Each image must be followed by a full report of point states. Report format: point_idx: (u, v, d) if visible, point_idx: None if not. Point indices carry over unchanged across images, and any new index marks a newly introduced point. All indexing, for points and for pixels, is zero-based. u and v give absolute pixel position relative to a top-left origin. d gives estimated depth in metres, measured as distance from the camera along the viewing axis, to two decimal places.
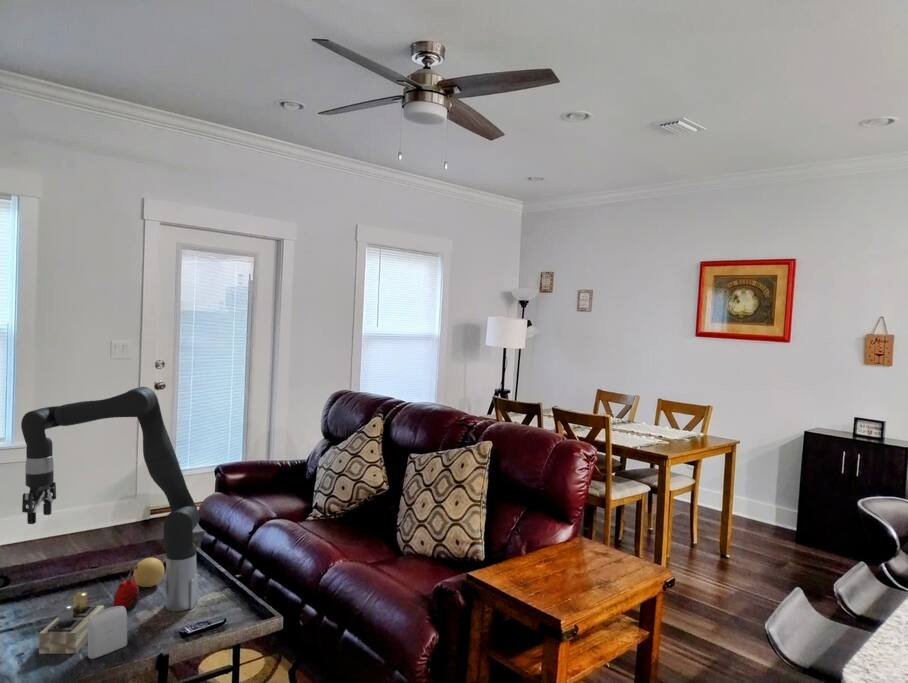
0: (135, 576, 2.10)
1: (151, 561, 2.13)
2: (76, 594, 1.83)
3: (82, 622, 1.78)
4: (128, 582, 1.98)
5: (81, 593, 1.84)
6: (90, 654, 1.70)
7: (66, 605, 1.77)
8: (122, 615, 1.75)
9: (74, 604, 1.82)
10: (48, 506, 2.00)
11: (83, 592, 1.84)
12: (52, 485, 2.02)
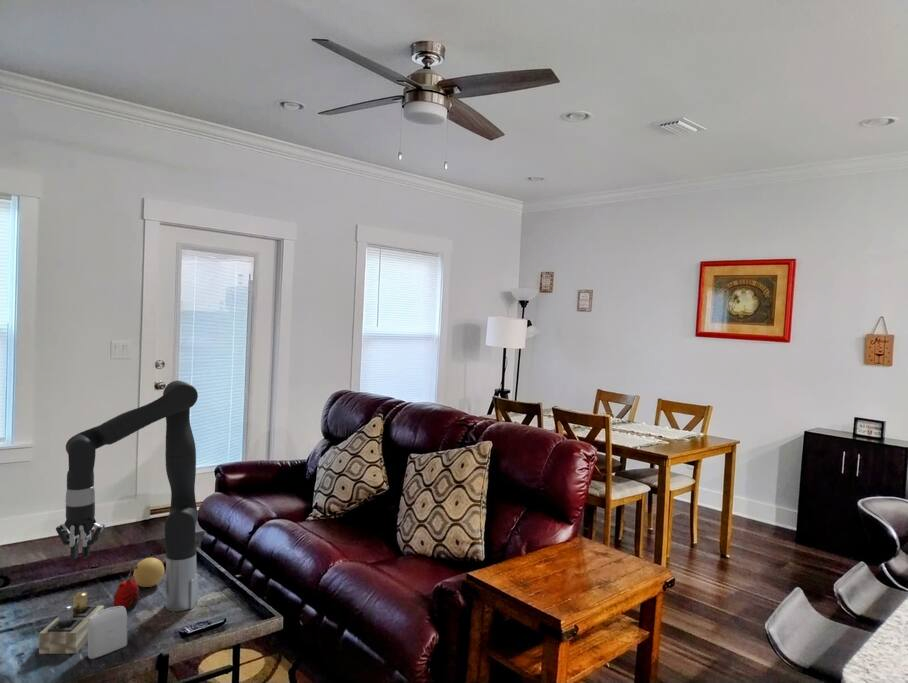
0: (135, 576, 2.10)
1: (151, 561, 2.13)
2: (76, 594, 1.83)
3: (82, 622, 1.78)
4: (128, 582, 1.98)
5: (81, 593, 1.84)
6: (90, 654, 1.70)
7: (66, 605, 1.77)
8: (122, 615, 1.75)
9: (74, 604, 1.82)
10: (77, 547, 1.83)
11: (83, 592, 1.84)
12: None
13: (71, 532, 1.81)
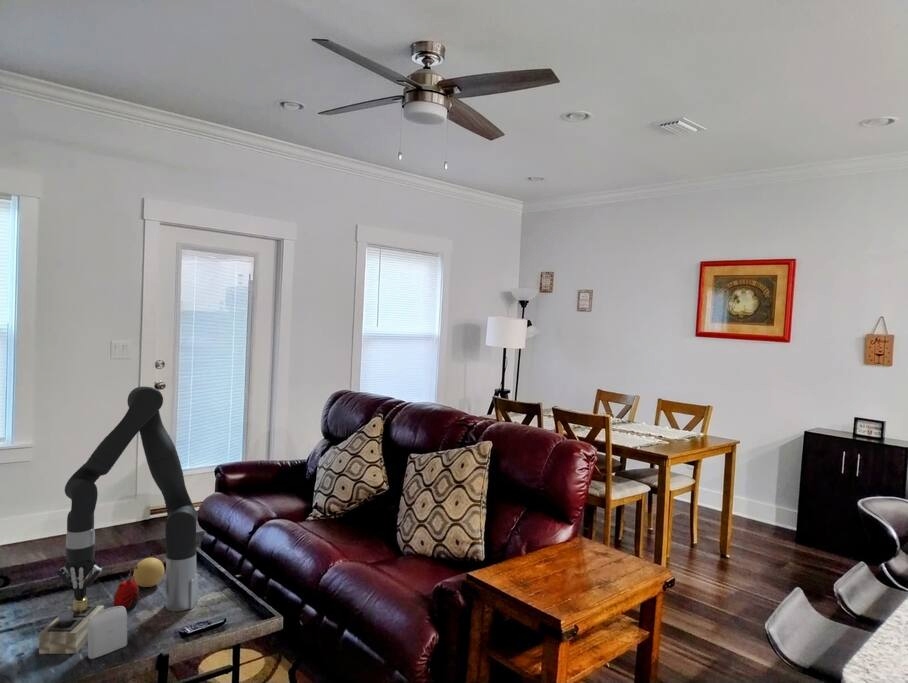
0: (135, 576, 2.10)
1: (151, 561, 2.13)
2: None
3: (82, 622, 1.78)
4: (128, 582, 1.98)
5: None
6: (90, 654, 1.70)
7: (66, 605, 1.77)
8: (122, 615, 1.75)
9: (74, 609, 1.82)
10: None
11: None
12: None
13: (72, 574, 1.81)
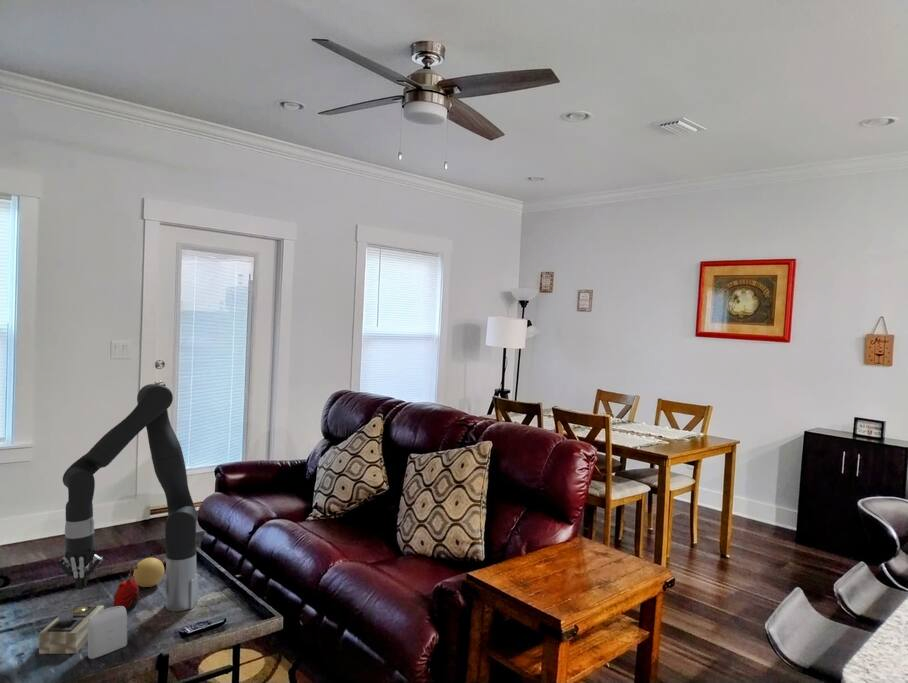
0: (135, 576, 2.10)
1: (151, 561, 2.13)
2: (76, 609, 1.83)
3: (82, 622, 1.78)
4: (128, 582, 1.98)
5: (81, 608, 1.84)
6: (90, 654, 1.70)
7: (66, 605, 1.77)
8: (122, 615, 1.75)
9: None
10: None
11: (83, 607, 1.85)
12: None
13: (73, 563, 1.81)
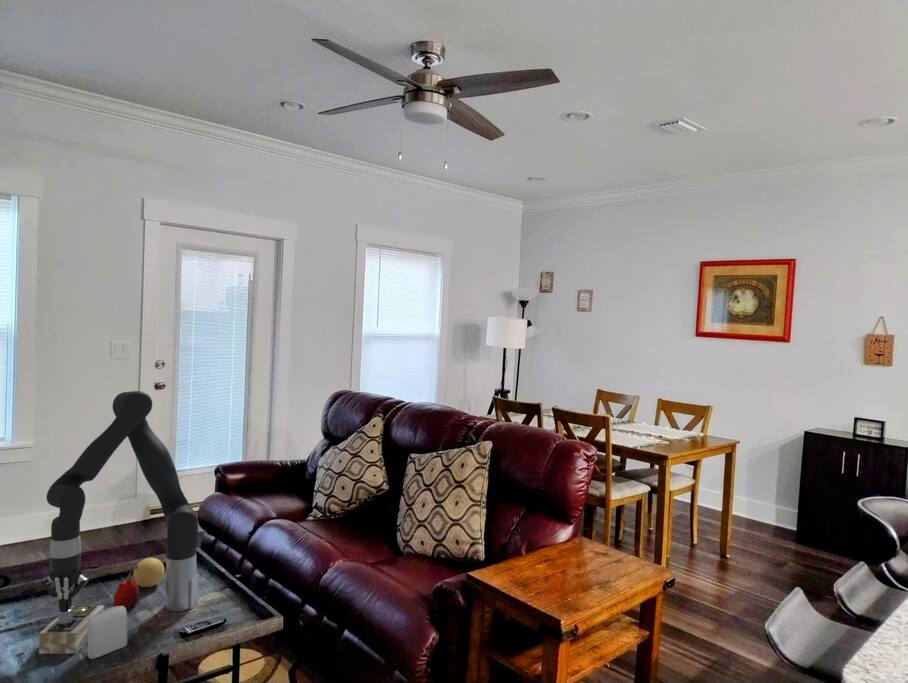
0: (135, 576, 2.10)
1: (151, 561, 2.13)
2: (76, 609, 1.83)
3: (82, 622, 1.78)
4: (128, 582, 1.98)
5: (81, 608, 1.84)
6: (90, 654, 1.70)
7: None
8: (122, 615, 1.75)
9: None
10: None
11: (83, 607, 1.85)
12: None
13: (57, 584, 1.73)
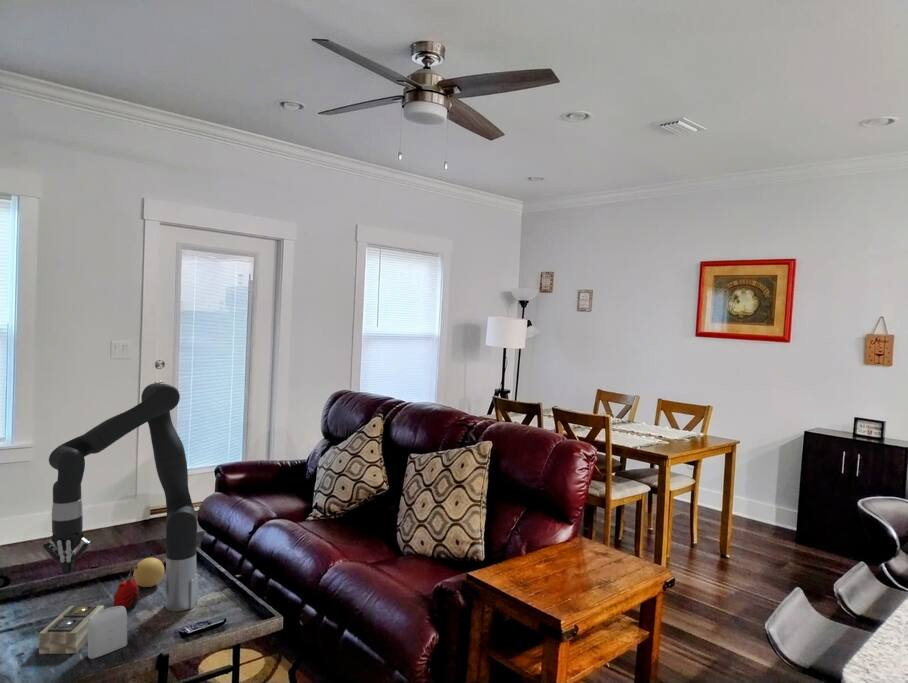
0: (135, 576, 2.10)
1: (151, 561, 2.13)
2: (76, 609, 1.83)
3: (82, 622, 1.78)
4: (128, 582, 1.98)
5: (81, 608, 1.84)
6: (90, 654, 1.70)
7: (66, 620, 1.77)
8: (122, 615, 1.75)
9: None
10: None
11: (83, 607, 1.85)
12: None
13: (59, 547, 1.74)
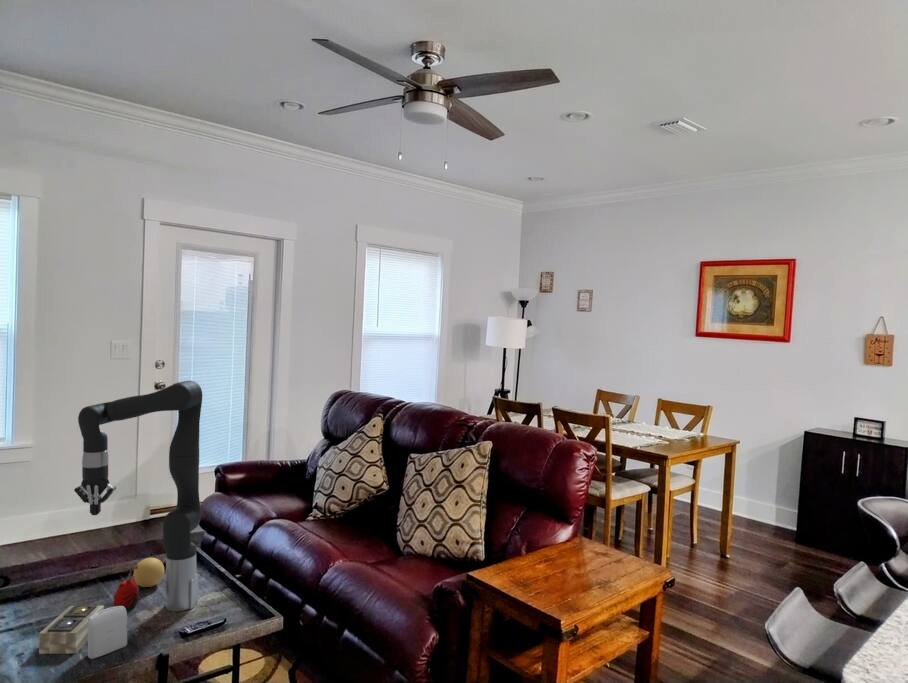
0: (135, 576, 2.10)
1: (151, 561, 2.13)
2: (76, 609, 1.83)
3: (82, 622, 1.78)
4: (128, 582, 1.98)
5: (81, 608, 1.84)
6: (90, 654, 1.70)
7: (66, 620, 1.77)
8: (122, 615, 1.75)
9: None
10: None
11: (83, 607, 1.85)
12: None
13: (88, 491, 2.01)
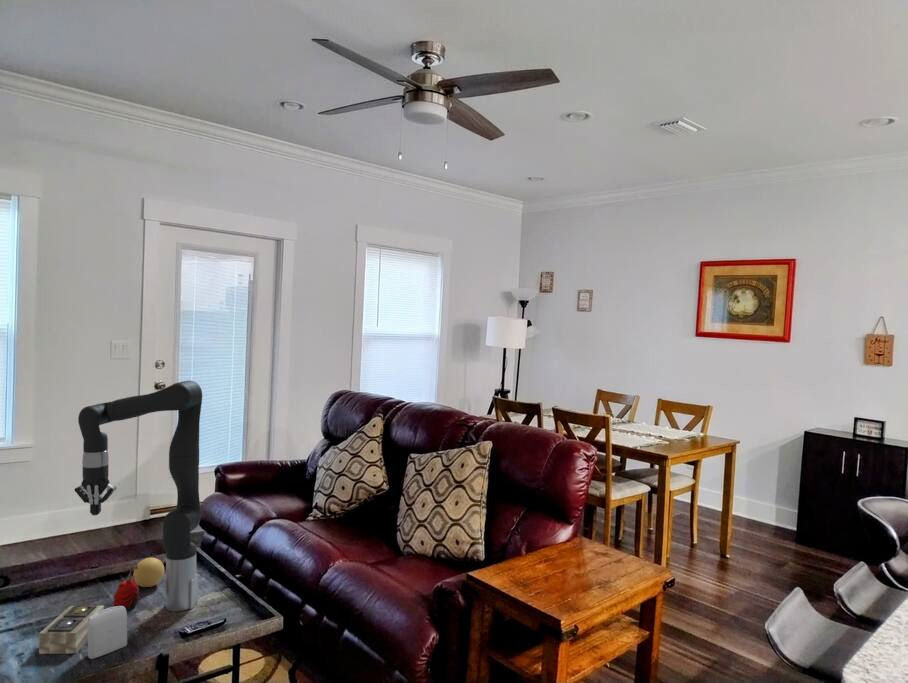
0: (135, 576, 2.10)
1: (151, 561, 2.13)
2: (76, 609, 1.83)
3: (82, 622, 1.78)
4: (128, 582, 1.98)
5: (81, 608, 1.84)
6: (90, 654, 1.70)
7: (66, 620, 1.77)
8: (122, 615, 1.75)
9: None
10: None
11: (83, 607, 1.85)
12: None
13: (88, 491, 2.01)
